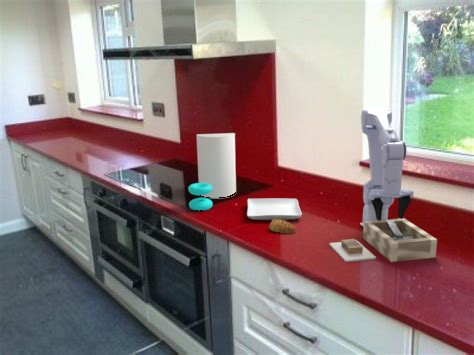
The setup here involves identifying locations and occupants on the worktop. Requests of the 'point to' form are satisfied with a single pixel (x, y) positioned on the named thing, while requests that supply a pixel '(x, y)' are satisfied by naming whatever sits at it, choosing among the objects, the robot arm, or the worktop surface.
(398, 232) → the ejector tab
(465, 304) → the worktop surface
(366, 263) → the worktop surface
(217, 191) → the cylinder
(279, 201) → the salad plate
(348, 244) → the walnut bar
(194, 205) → the donuts
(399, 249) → the pocket board
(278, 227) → the pastry
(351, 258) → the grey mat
